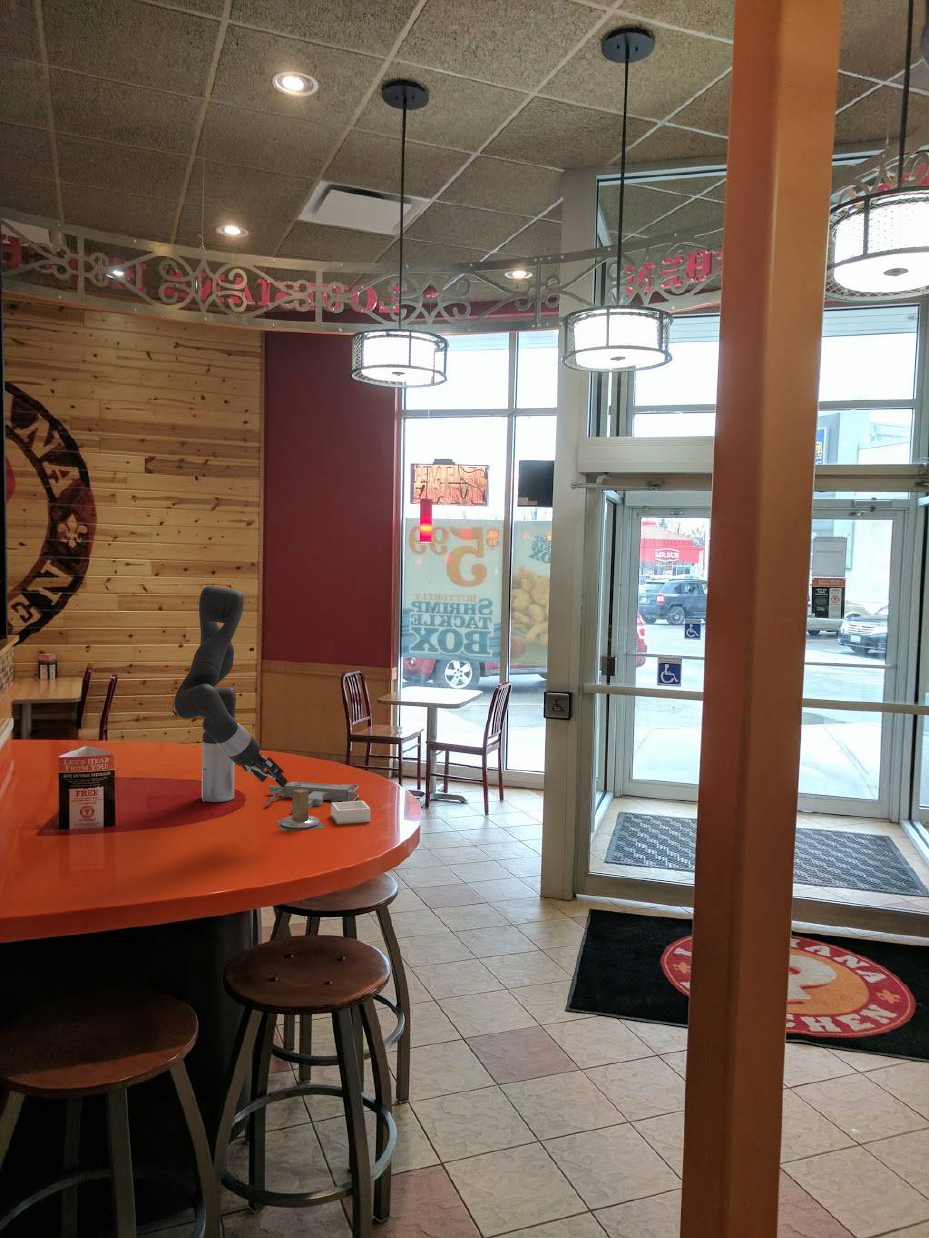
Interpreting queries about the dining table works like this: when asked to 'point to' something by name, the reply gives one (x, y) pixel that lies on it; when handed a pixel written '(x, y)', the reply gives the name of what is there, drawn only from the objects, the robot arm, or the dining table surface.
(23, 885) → the dining table surface
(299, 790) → the lid
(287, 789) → the submachine gun
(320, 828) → the mat
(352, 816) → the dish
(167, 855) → the dining table surface
